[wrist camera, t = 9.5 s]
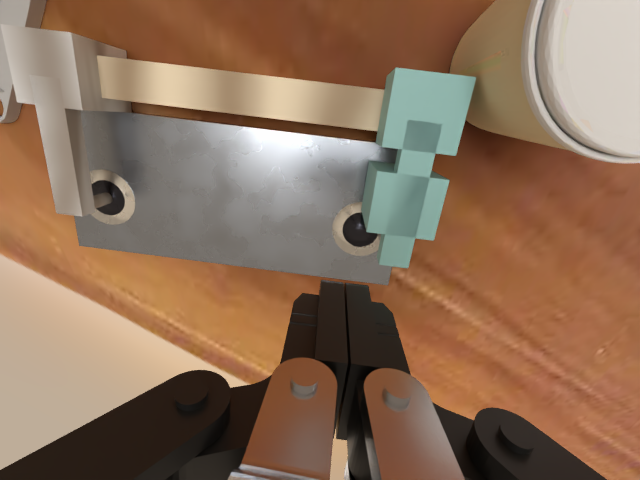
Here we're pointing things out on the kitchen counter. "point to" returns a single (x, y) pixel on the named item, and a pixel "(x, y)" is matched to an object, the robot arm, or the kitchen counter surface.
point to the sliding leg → (413, 158)
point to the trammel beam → (150, 99)
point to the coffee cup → (557, 74)
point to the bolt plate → (231, 195)
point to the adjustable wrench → (9, 9)
